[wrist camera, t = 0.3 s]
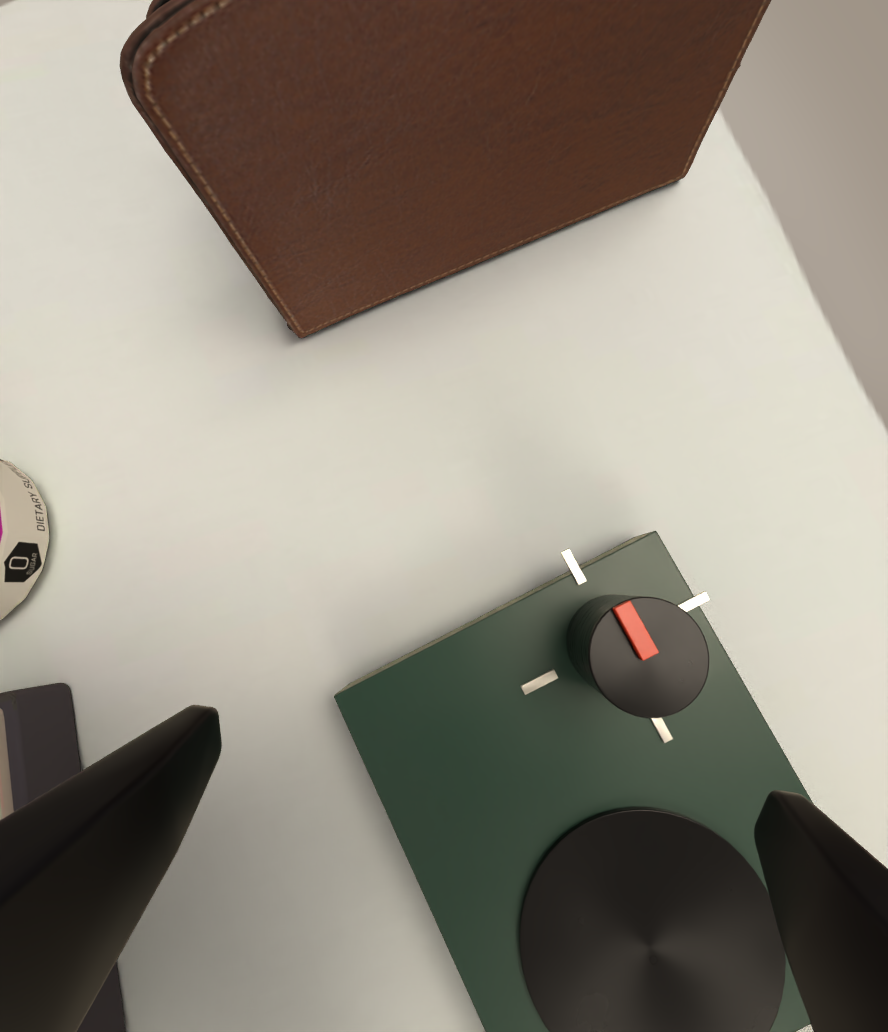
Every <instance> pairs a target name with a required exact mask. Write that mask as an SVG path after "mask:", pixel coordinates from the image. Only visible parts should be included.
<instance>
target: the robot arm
mask: <svg viewBox="0 0 888 1032" xmlns="http://www.w3.org/2000/svg"><path fill="white" fill-rule="evenodd" d="M221 746H222V742H221V733H220V724H219V715H218V711H217V710H216V709H215V708H213V707H207V706H200V705H191V706H189V707H187V708H185V709H183V710H182V711H180V712H179V713H177V714H175V715H174V716H172V717H170V718H169V719H167V720H165V721H164V722H162V723H160V724H159V725H157V726H155V727H154V728H152V729H150V730H149V731H147V732H145V733H144V734H142V735H140V736H139V737H137V738H135V739H134V740H132V741H130V742H129V743H127V744H125V745H124V746H122V747H120V748H119V749H117V750H115V751H114V752H112V753H111V754H109V755H107V756H106V757H104V758H102V759H101V760H99V761H97V762H96V763H94V764H92V765H91V766H89V767H87V768H86V769H84V770H82V771H81V772H79V773H77V774H76V775H74V776H72V777H71V778H69V779H67V780H66V781H64V782H62V783H61V784H59V785H57V786H56V787H54V788H52V789H51V790H49V791H48V792H46V793H44V794H43V795H41V796H39V797H38V798H36V799H34V800H33V801H31V802H29V803H28V804H26V805H24V806H23V807H21V808H19V809H18V810H16V811H14V812H13V813H11V814H9V815H8V816H6V817H4V818H3V819H1V820H0V1032H77V1030H78V1028H79V1026H80V1025H81V1023H82V1021H83V1019H84V1017H85V1016H86V1014H87V1012H88V1010H89V1009H90V1007H91V1005H92V1003H93V1001H94V1000H95V998H96V996H97V994H98V993H99V991H100V989H101V987H102V985H103V984H104V982H105V980H106V978H107V977H108V975H109V973H110V971H111V969H112V968H113V966H114V964H115V962H116V960H117V959H118V957H119V955H120V953H121V952H122V950H123V948H124V946H125V944H126V943H127V941H128V939H129V937H130V936H131V934H132V932H133V930H134V928H135V927H136V925H137V923H138V921H139V920H140V918H141V916H142V914H143V912H144V911H145V909H146V907H147V905H148V904H149V902H150V900H151V898H152V896H153V895H154V893H155V891H156V889H157V887H158V886H159V884H160V882H161V880H162V879H163V877H164V875H165V873H166V871H167V870H168V868H169V866H170V864H171V862H172V860H173V859H174V857H175V855H176V853H177V851H178V849H179V847H180V845H181V842H182V840H183V838H184V836H185V834H186V832H187V829H188V827H189V825H190V823H191V820H192V818H193V816H194V814H195V811H196V809H197V807H198V804H199V802H200V800H201V798H202V795H203V793H204V791H205V789H206V786H207V784H208V782H209V780H210V777H211V775H212V773H213V771H214V768H215V766H216V764H217V762H218V759H219V756H220V753H221ZM754 839H755V844H756V848H757V852H758V855H759V859H760V863H761V866H762V870H763V874H764V878H765V881H766V885H767V889H768V892H769V896H770V900H771V903H772V907H773V911H774V915H775V918H776V922H777V926H778V929H779V933H780V937H781V940H782V943H783V947H784V950H785V953H786V956H787V959H788V962H789V965H790V968H791V971H792V974H793V976H794V979H795V982H796V984H797V987H798V990H799V993H800V995H801V998H802V1001H803V1003H804V1006H805V1009H806V1012H807V1014H808V1017H809V1020H810V1022H811V1025H812V1028H813V1031H814V1032H888V869H887V868H886V867H885V866H884V865H883V864H882V863H880V862H879V861H878V860H877V859H876V858H875V857H873V856H872V855H871V854H870V853H869V852H868V851H867V850H865V849H864V848H863V847H862V846H861V845H860V844H859V843H857V842H856V841H855V840H854V839H853V838H852V837H850V836H849V835H848V834H847V833H846V832H845V831H844V830H842V829H841V828H840V827H839V826H838V825H837V824H836V823H834V822H833V821H832V820H831V819H830V818H829V817H827V816H826V815H825V814H824V813H823V812H822V811H821V810H819V809H818V808H817V807H816V806H815V805H814V804H813V803H811V802H810V801H809V800H808V799H807V798H805V797H804V796H802V795H801V794H798V793H793V792H786V791H779V790H773V791H772V792H770V793H769V794H768V796H767V798H766V801H765V803H764V805H763V807H762V810H761V812H760V814H759V817H758V819H757V821H756V824H755V828H754Z"/></svg>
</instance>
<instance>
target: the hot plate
mask: <svg viewBox="0 0 888 1032" xmlns="http://www.w3.org/2000/svg"><path fill="white" fill-rule="evenodd" d="M561 555H562V557H563V559H564V560H565V562H566V564H567V566H568V568H569V570H570V571H568V572H566V573H564V574H562V575H560V576H558V577H557V578H555V579H553V580H551V581H549V582H547V583H545V584H543V585H541V586H539V587H537V588H535V589H533V590H531V591H529V592H527V593H525V594H523V595H521V596H519V597H518V598H516V599H514V600H512V601H510V602H508V603H506V604H504V605H502V606H500V607H498V608H496V609H494V610H492V611H490V612H488V613H486V614H484V615H482V616H480V617H479V618H477V619H475V620H473V621H471V622H469V623H467V624H465V625H463V626H461V627H459V628H457V629H455V630H453V631H451V632H449V633H447V634H445V635H443V636H441V637H440V638H438V639H436V640H434V641H432V642H430V643H428V644H426V645H424V646H422V647H420V648H418V649H416V650H414V651H412V652H410V653H408V654H406V655H404V656H402V657H401V658H399V659H397V660H395V661H393V662H391V663H389V664H387V665H385V666H383V667H381V668H379V669H377V670H375V671H373V672H371V673H369V674H367V675H365V676H363V677H362V678H360V679H358V680H356V681H354V682H352V683H350V684H348V685H347V686H346V687H345V688H343V689H342V690H341V691H339V692H338V693H337V694H335V695H334V698H335V700H336V702H337V704H338V707H339V709H340V711H341V713H342V715H343V718H344V720H345V722H346V724H347V726H348V729H349V731H350V733H351V735H352V737H353V740H354V742H355V744H356V746H357V749H358V751H359V753H360V755H361V757H362V760H363V762H364V764H365V766H366V768H367V771H368V773H369V775H370V777H371V779H372V782H373V784H374V786H375V788H376V790H377V793H378V795H379V797H380V799H381V801H382V804H383V806H384V808H385V810H386V813H387V815H388V817H389V819H390V821H391V824H392V826H393V828H394V830H395V832H396V835H397V837H398V839H399V841H400V843H401V846H402V848H403V850H404V852H405V854H406V857H407V859H408V861H409V863H410V865H411V868H412V870H413V872H414V874H415V877H416V879H417V881H418V883H419V885H420V888H421V890H422V892H423V894H424V896H425V899H426V901H427V903H428V905H429V907H430V910H431V912H432V914H433V916H434V918H435V921H436V923H437V925H438V927H439V929H440V932H441V934H442V936H443V938H444V941H445V943H446V945H447V947H448V949H449V952H450V954H451V956H452V958H453V960H454V963H455V965H456V967H457V969H458V971H459V974H460V976H461V978H462V980H463V982H464V985H465V987H466V989H467V991H468V993H469V996H470V998H471V1000H472V1002H473V1005H474V1007H475V1009H476V1011H477V1013H478V1016H479V1018H480V1020H481V1022H482V1024H483V1027H484V1029H485V1031H486V1032H549V1030H548V1029H547V1028H546V1026H545V1025H544V1023H543V1021H542V1020H541V1018H540V1016H539V1014H538V1012H537V1010H536V1008H535V1006H534V1004H533V1001H532V999H531V996H530V994H529V991H528V989H527V985H526V981H525V978H524V974H523V970H522V963H521V956H520V948H519V925H520V915H521V909H522V904H523V900H524V895H525V892H526V890H527V887H528V884H529V881H530V879H531V877H532V875H533V873H534V871H535V869H536V867H537V865H538V863H539V862H540V860H541V859H542V858H543V856H544V855H545V853H546V852H547V850H548V849H549V848H550V847H551V846H552V845H553V844H554V843H555V842H556V841H557V839H558V838H559V837H561V836H562V835H563V834H564V833H566V832H567V831H568V830H569V829H570V828H572V827H573V826H575V825H577V824H578V823H580V822H582V821H583V820H585V819H587V818H589V817H592V816H594V815H596V814H599V813H602V812H605V811H609V810H613V809H617V808H625V807H653V808H660V809H666V810H670V811H673V812H677V813H680V814H683V815H685V816H688V817H690V818H692V819H695V820H697V821H699V822H701V823H702V824H704V825H706V826H707V827H709V828H711V829H712V830H714V831H715V832H717V833H718V834H719V835H720V836H722V837H723V838H724V839H726V840H727V841H728V842H729V843H730V844H731V845H732V846H733V847H734V848H735V849H736V850H737V851H738V852H739V853H740V854H741V855H742V856H743V857H744V858H745V859H746V860H747V862H748V863H749V864H750V865H751V867H752V868H753V869H754V870H755V872H756V873H757V875H758V876H759V878H760V879H761V881H762V883H763V884H764V886H765V887H766V889H767V885H766V881H765V878H764V874H763V870H762V866H761V863H760V859H759V855H758V852H757V848H756V844H755V839H754V828H755V824H756V821H757V819H758V817H759V814H760V812H761V810H762V807H763V805H764V803H765V801H766V798H767V796H768V794H769V793H770V792H772V791H773V790H779V791H786V792H793V793H798V794H801V795H802V796H804V797H805V798H807V799H808V800H809V801H810V802H811V803H813V802H812V801H811V799H810V797H809V796H808V794H807V792H806V790H805V789H804V787H803V785H802V783H801V782H800V780H799V778H798V776H797V775H796V773H795V771H794V769H793V768H792V766H791V764H790V763H789V761H788V759H787V757H786V756H785V754H784V752H783V750H782V749H781V747H780V745H779V743H778V742H777V740H776V738H775V736H774V735H773V733H772V731H771V729H770V728H769V726H768V724H767V723H766V721H765V719H764V717H763V716H762V714H761V712H760V710H759V709H758V707H757V705H756V703H755V702H754V700H753V698H752V696H751V695H750V693H749V691H748V690H747V688H746V686H745V684H744V683H743V681H742V679H741V677H740V676H739V674H738V672H737V670H736V669H735V667H734V665H733V663H732V662H731V660H730V658H729V657H728V655H727V653H726V651H725V650H724V648H723V646H722V644H721V643H720V641H719V639H718V637H717V636H716V634H715V632H714V630H713V629H712V627H711V625H710V624H709V622H708V620H707V618H706V617H705V615H704V613H703V611H702V610H701V608H700V606H699V605H701V604H703V603H705V602H707V601H709V600H710V598H709V597H708V595H707V593H706V592H705V591H703V592H701V593H700V594H698V595H696V596H693V594H692V592H691V591H690V589H689V587H688V585H687V584H686V582H685V580H684V578H683V577H682V575H681V573H680V571H679V570H678V568H677V566H676V564H675V563H674V561H673V559H672V558H671V556H670V554H669V552H668V551H667V549H666V547H665V545H664V544H663V542H662V540H661V538H660V537H659V535H658V533H657V532H656V531H653V532H650V533H646V534H643V535H640V536H637V537H635V538H633V539H631V540H629V541H627V542H625V543H623V544H621V545H619V546H617V547H615V548H613V549H611V550H609V551H607V552H605V553H603V554H601V555H599V556H597V557H596V558H594V559H592V560H590V561H588V562H586V563H584V564H582V565H580V566H579V565H578V564H577V562H576V560H575V558H574V556H573V554H572V553H571V551H570V549H567V550H565V551H563V552H561ZM603 595H631V596H647V597H656V598H660V599H664V600H667V601H669V602H672V603H674V604H675V605H677V606H679V607H680V608H682V609H683V610H685V611H686V612H687V613H688V614H689V615H690V616H691V617H692V618H693V619H694V620H695V622H696V623H697V624H698V626H699V627H700V629H701V631H702V633H703V635H704V637H705V640H706V642H707V646H708V651H709V671H708V676H707V679H706V682H705V685H704V687H703V689H702V691H701V692H700V694H699V695H698V696H697V698H696V699H695V700H694V701H693V702H692V703H691V704H690V705H689V706H687V707H686V708H685V709H683V710H681V711H680V712H678V713H676V714H673V715H671V716H667V717H663V718H642V717H637V716H633V715H631V714H628V713H626V712H624V711H622V710H620V709H618V708H617V707H615V706H614V705H613V704H612V703H610V702H609V701H608V700H607V699H606V698H605V697H603V696H602V695H601V694H600V693H599V692H598V691H597V690H595V689H594V688H593V687H592V686H591V685H590V684H589V683H587V682H586V681H585V680H584V679H583V678H582V677H581V676H580V675H579V674H578V672H577V671H576V670H575V668H574V666H573V665H572V663H571V660H570V658H569V654H568V650H567V632H568V628H569V625H570V622H571V620H572V618H573V617H574V615H575V614H576V612H577V611H578V610H579V609H580V608H581V607H582V606H583V605H584V604H585V603H587V602H589V601H590V600H592V599H594V598H597V597H600V596H603ZM767 892H768V889H767ZM768 894H769V892H768ZM785 959H786V967H785V983H784V989H783V995H782V1000H781V1003H780V1007H779V1010H778V1013H777V1016H776V1019H775V1021H774V1023H773V1025H772V1027H771V1029H770V1032H796V1031H798V1030H800V1029H802V1028H804V1027H805V1026H807V1025H809V1024H811V1022H810V1020H809V1017H808V1014H807V1012H806V1009H805V1006H804V1003H803V1001H802V998H801V995H800V993H799V990H798V987H797V984H796V982H795V979H794V976H793V974H792V971H791V968H790V965H789V962H788V959H787V956H786V953H785Z"/></svg>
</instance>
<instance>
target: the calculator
mask: <svg viewBox="0 0 888 1032" xmlns="http://www.w3.org/2000/svg"><path fill="white" fill-rule="evenodd" d="M79 772H81V770H80V762H79V754H78V747H77V739H76V731H75V723H74V715H73V707H72V700H71V693H70V689H69V687H68V686H67V685H66V684H64V683H57V684H50V685H44V686H38V687H32V688H25V689H19V690H13V691H8V692H3V693H0V820H1V819H3V818H4V817H6V816H8V815H9V814H11V813H13V812H14V811H16V810H18V809H19V808H21V807H23V806H24V805H26V804H28V803H29V802H31V801H33V800H34V799H36V798H38V797H39V796H41V795H43V794H44V793H46V792H48V791H49V790H51V789H52V788H54V787H56V786H57V785H59V784H61V783H62V782H64V781H66V780H67V779H69V778H71V777H72V776H74V775H76V774H77V773H79ZM77 1032H126V1031H125V1023H124V1015H123V1008H122V1000H121V993H120V985H119V978H118V970H117V962H115V964H114V966H113V968H112V969H111V971H110V973H109V975H108V977H107V978H106V980H105V982H104V984H103V985H102V987H101V989H100V991H99V993H98V994H97V996H96V998H95V1000H94V1001H93V1003H92V1005H91V1007H90V1009H89V1010H88V1012H87V1014H86V1016H85V1017H84V1019H83V1021H82V1023H81V1025H80V1026H79V1028H78V1030H77Z"/></svg>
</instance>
